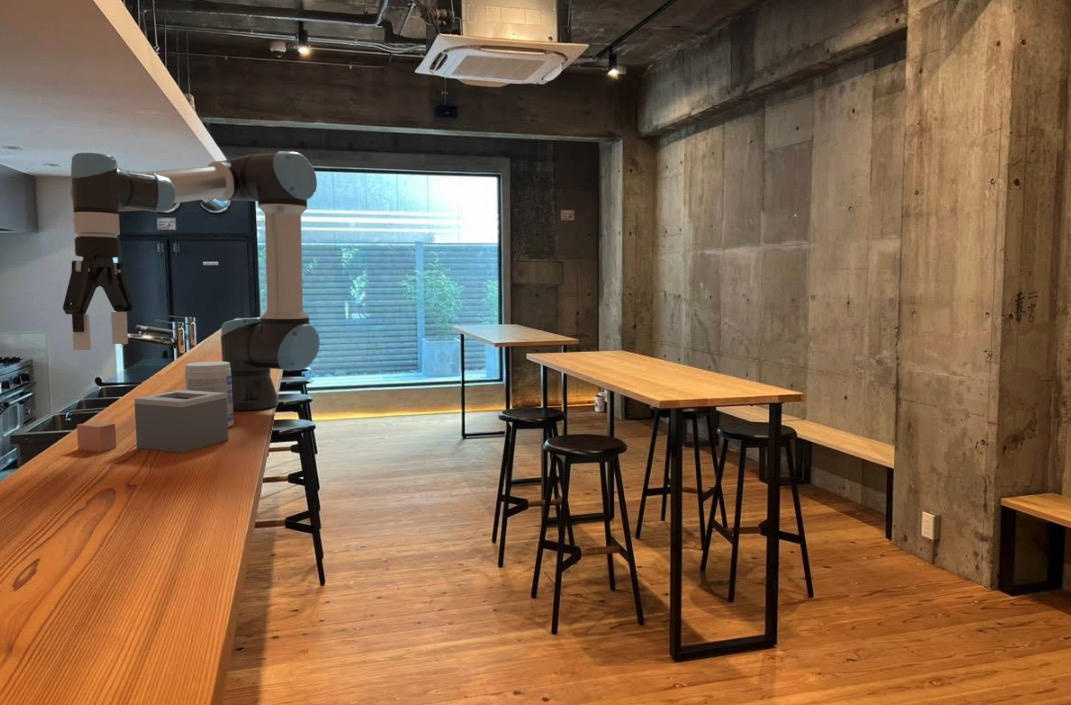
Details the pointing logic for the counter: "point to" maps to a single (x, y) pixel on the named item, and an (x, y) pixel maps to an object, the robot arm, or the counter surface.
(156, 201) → the robot arm
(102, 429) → the block
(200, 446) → the box
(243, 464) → the counter surface
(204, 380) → the supplement tub
